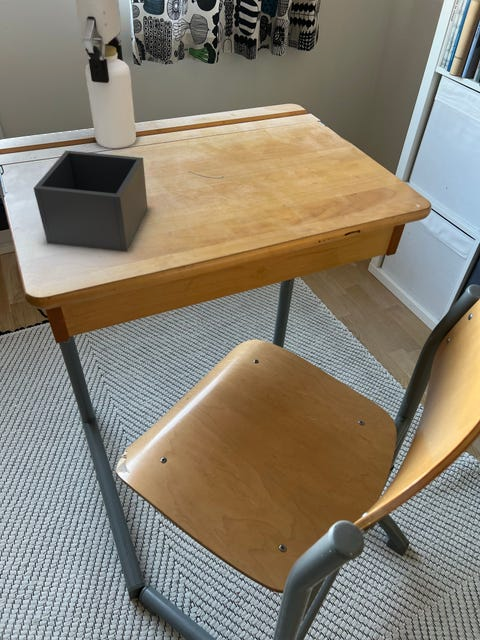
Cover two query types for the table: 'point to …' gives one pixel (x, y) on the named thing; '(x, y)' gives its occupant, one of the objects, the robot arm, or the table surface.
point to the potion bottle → (112, 104)
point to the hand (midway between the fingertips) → (108, 73)
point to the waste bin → (93, 200)
